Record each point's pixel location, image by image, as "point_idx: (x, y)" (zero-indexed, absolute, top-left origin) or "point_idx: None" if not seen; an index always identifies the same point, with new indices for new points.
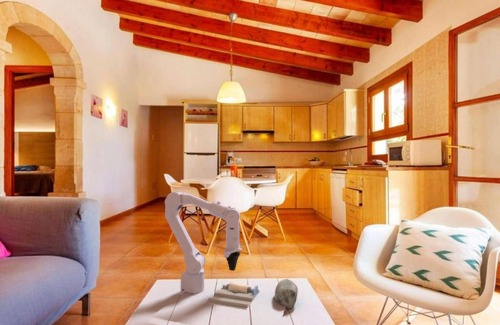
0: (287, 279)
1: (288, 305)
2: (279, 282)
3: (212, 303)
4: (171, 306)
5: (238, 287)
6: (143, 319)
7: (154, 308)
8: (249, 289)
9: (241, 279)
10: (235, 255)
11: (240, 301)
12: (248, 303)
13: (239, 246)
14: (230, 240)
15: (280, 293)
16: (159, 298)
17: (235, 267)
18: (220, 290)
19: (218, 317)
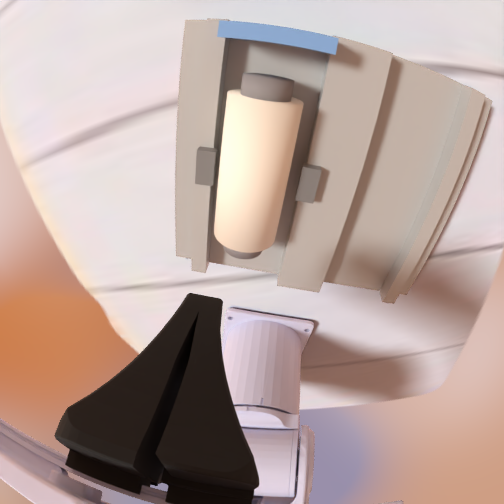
0: None
1: None
2: None
3: (414, 271)
4: (379, 365)
5: (284, 176)
6: (440, 381)
7: (386, 386)
8: (291, 81)
9: (38, 193)
10: (242, 484)
11: (398, 131)
12: (423, 79)
13: (12, 487)
14: None
15: None
16: (320, 395)
17: (189, 311)
18: (286, 271)
19: (493, 219)
